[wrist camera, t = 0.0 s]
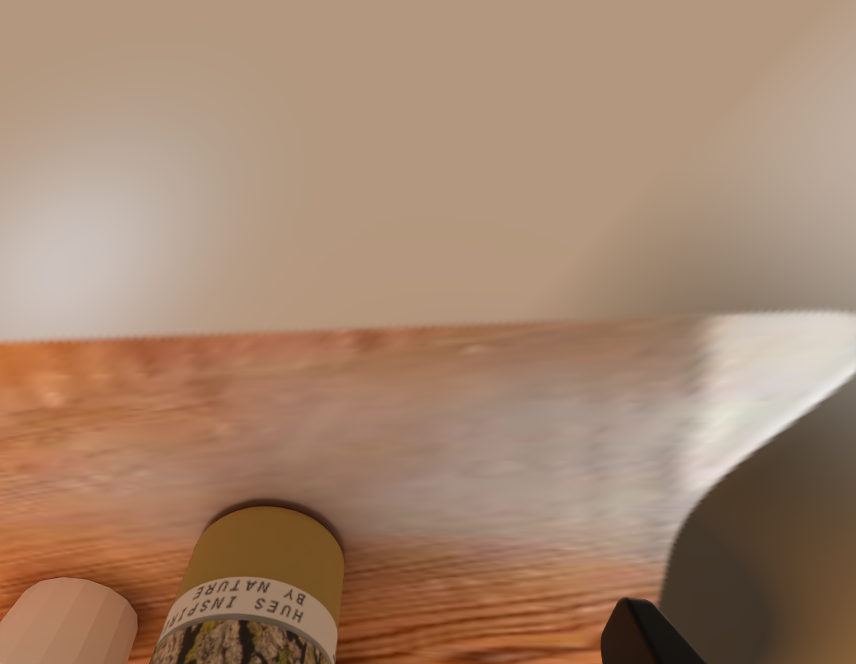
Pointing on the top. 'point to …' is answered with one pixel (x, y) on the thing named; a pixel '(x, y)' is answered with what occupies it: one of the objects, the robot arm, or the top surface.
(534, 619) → the top surface
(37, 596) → the white tapered cylinder
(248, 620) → the paper tube
